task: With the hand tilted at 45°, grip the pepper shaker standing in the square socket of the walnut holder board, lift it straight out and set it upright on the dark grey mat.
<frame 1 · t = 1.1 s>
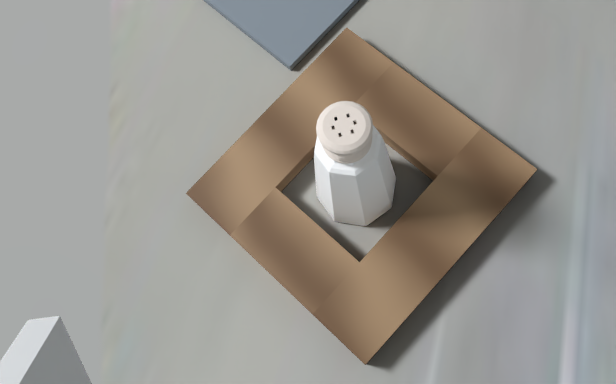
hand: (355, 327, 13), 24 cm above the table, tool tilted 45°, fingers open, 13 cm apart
pepper shaker: (356, 189, 39), resting in walnut holder
walnut holder: (356, 188, 39), on the table
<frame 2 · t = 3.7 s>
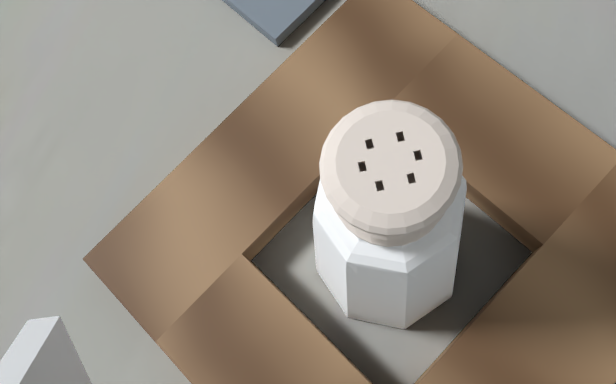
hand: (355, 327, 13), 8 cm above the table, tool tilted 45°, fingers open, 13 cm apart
pepper shaker: (387, 257, 22), resting in walnut holder
walnut holder: (387, 256, 22), on the table
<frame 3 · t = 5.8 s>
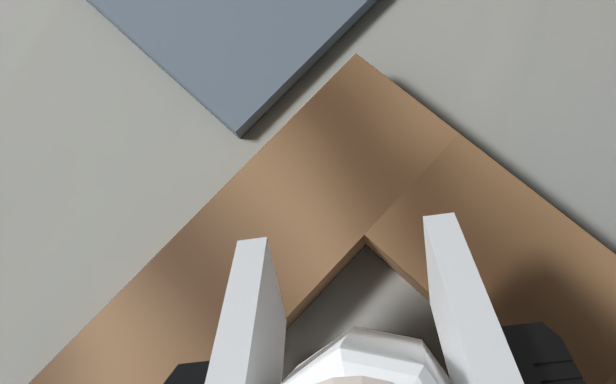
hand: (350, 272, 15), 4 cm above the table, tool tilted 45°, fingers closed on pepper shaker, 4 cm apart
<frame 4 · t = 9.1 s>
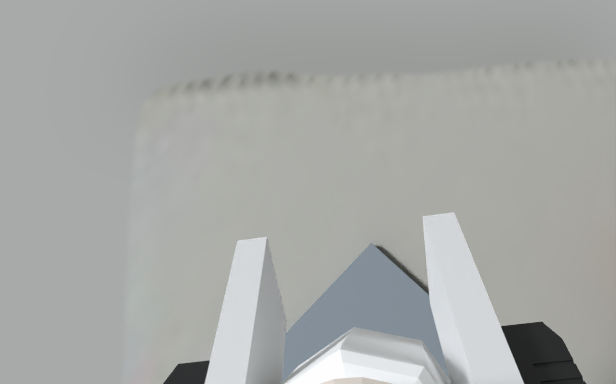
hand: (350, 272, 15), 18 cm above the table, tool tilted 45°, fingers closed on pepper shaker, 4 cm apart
when the fingers open (6 cm above the table, at t = 12.2 s): pepper shaker drops 1 cm, resting on grey mat.
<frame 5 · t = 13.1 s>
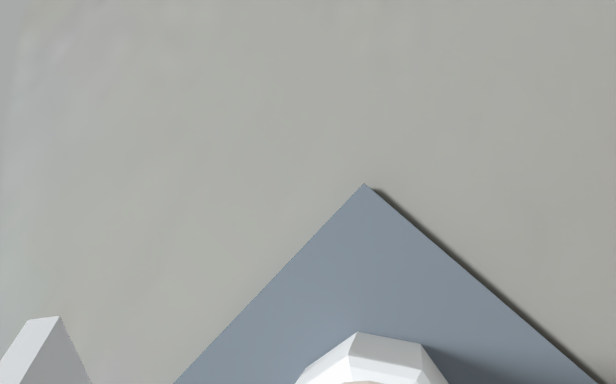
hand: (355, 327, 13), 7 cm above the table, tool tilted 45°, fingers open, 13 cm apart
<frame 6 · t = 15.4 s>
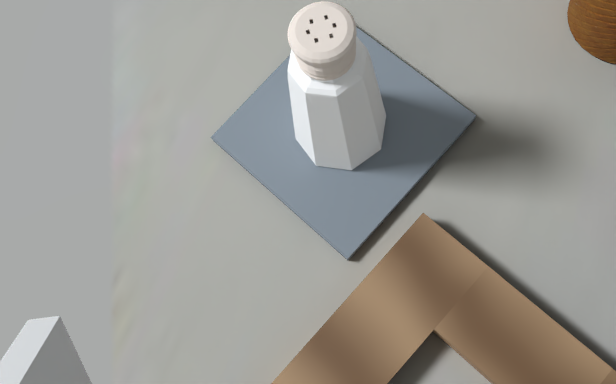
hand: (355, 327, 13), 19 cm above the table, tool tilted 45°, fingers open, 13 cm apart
grey mat: (340, 130, 34), on the table
pepper shaker: (341, 129, 34), resting on grey mat
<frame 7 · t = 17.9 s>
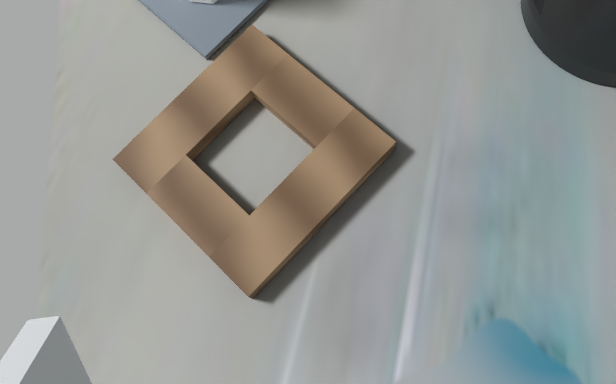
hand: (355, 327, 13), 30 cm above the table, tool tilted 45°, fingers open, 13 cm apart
walnut holder: (254, 157, 47), on the table
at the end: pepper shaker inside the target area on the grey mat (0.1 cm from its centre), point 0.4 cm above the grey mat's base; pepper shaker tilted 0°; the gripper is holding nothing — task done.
